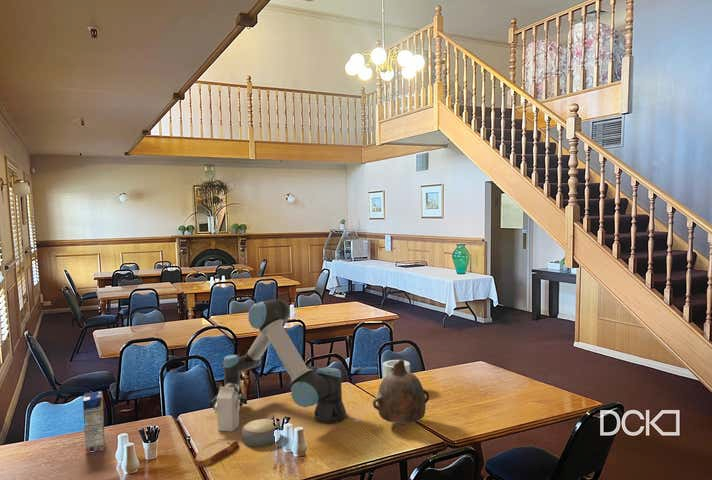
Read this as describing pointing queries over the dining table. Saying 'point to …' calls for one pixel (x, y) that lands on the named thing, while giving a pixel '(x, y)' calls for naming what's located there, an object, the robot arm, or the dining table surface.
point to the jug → (401, 396)
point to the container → (390, 364)
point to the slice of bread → (214, 451)
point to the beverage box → (94, 421)
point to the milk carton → (227, 409)
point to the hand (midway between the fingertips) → (227, 408)
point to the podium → (259, 433)
